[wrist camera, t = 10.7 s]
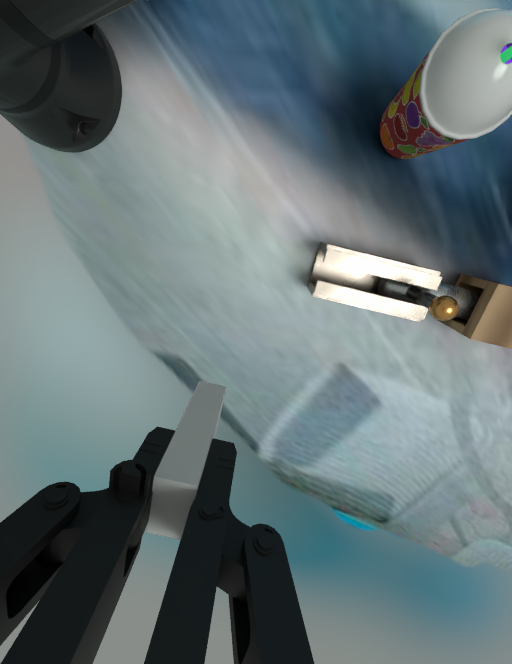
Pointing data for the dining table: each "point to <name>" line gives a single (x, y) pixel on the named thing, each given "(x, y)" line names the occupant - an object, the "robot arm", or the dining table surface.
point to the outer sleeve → (367, 280)
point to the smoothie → (454, 88)
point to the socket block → (486, 313)
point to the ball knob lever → (433, 298)
